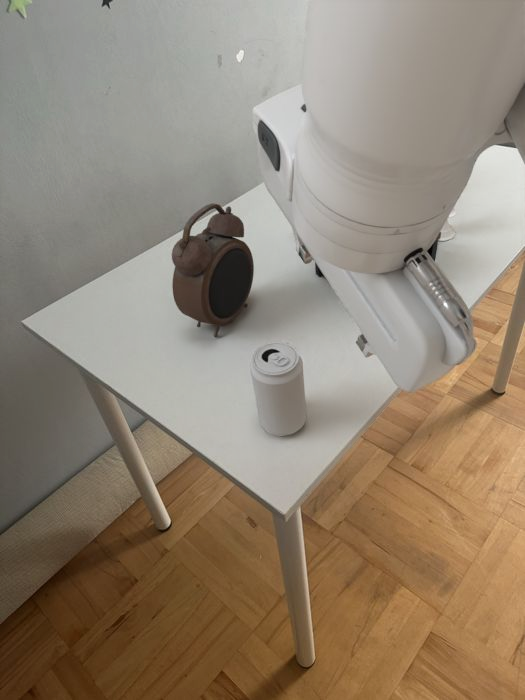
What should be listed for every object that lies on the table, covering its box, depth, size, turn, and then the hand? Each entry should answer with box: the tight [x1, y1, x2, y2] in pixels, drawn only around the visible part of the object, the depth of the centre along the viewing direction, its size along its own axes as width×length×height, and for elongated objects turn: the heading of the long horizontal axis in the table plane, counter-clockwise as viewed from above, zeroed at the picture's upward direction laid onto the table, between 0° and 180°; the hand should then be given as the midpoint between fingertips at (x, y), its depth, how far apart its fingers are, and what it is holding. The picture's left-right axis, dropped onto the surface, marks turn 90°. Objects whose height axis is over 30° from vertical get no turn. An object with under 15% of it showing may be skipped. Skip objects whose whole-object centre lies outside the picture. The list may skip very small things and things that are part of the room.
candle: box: [438, 207, 458, 242], centre depth 93 cm, size 5×5×12 cm
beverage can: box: [249, 341, 307, 437], centre depth 64 cm, size 6×6×12 cm
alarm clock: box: [171, 202, 255, 338], centre depth 79 cm, size 15×7×20 cm, turn 147°
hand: (337, 299), depth 41 cm, fingers open, 8 cm apart
